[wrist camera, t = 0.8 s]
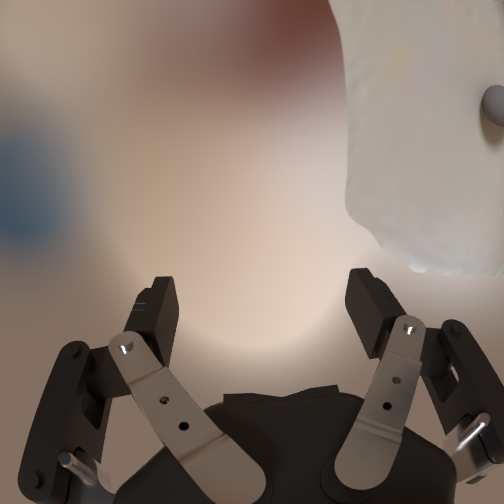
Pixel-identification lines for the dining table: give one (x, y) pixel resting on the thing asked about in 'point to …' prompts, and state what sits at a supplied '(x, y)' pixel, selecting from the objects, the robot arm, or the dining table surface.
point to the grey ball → (494, 104)
